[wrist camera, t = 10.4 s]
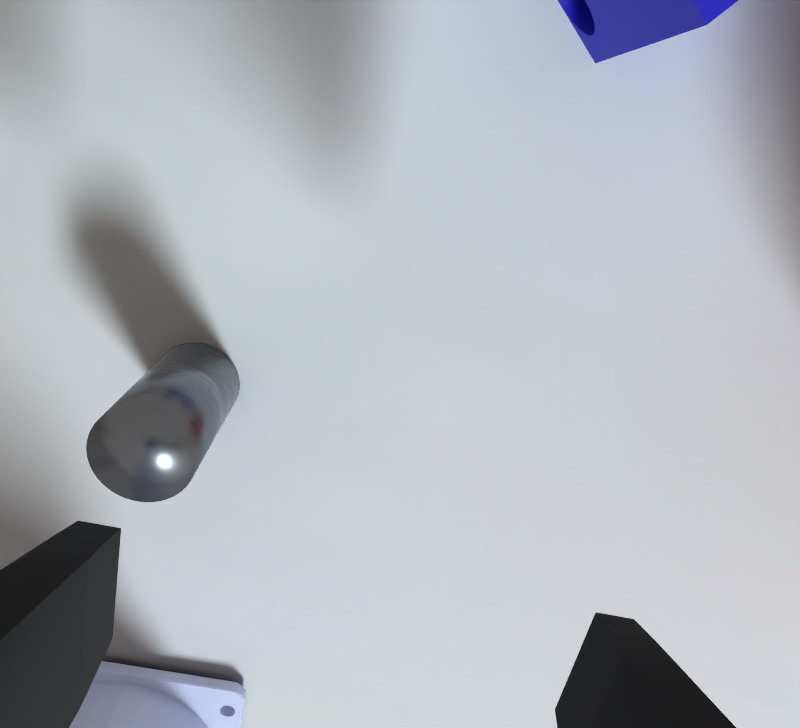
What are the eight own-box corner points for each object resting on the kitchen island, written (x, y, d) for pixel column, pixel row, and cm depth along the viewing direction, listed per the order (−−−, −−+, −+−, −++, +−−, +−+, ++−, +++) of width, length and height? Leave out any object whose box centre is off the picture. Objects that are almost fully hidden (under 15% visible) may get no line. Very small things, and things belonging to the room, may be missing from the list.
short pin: (229, 428, 19) (184, 513, 14) (149, 406, 18) (79, 486, 14) (248, 357, 18) (206, 423, 14) (165, 332, 17) (95, 392, 13)
